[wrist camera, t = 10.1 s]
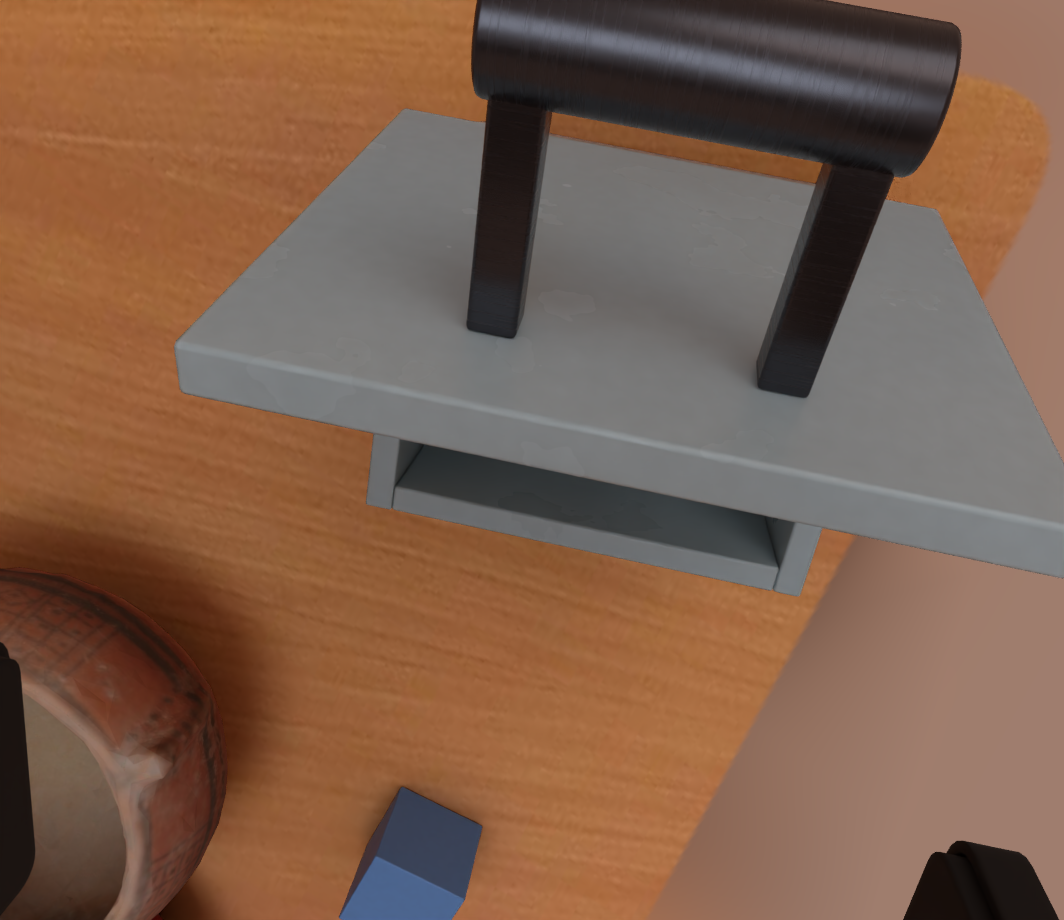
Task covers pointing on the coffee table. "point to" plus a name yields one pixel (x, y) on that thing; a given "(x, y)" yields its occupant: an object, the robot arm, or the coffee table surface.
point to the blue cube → (414, 863)
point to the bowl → (109, 751)
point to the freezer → (593, 508)
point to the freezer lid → (664, 281)
